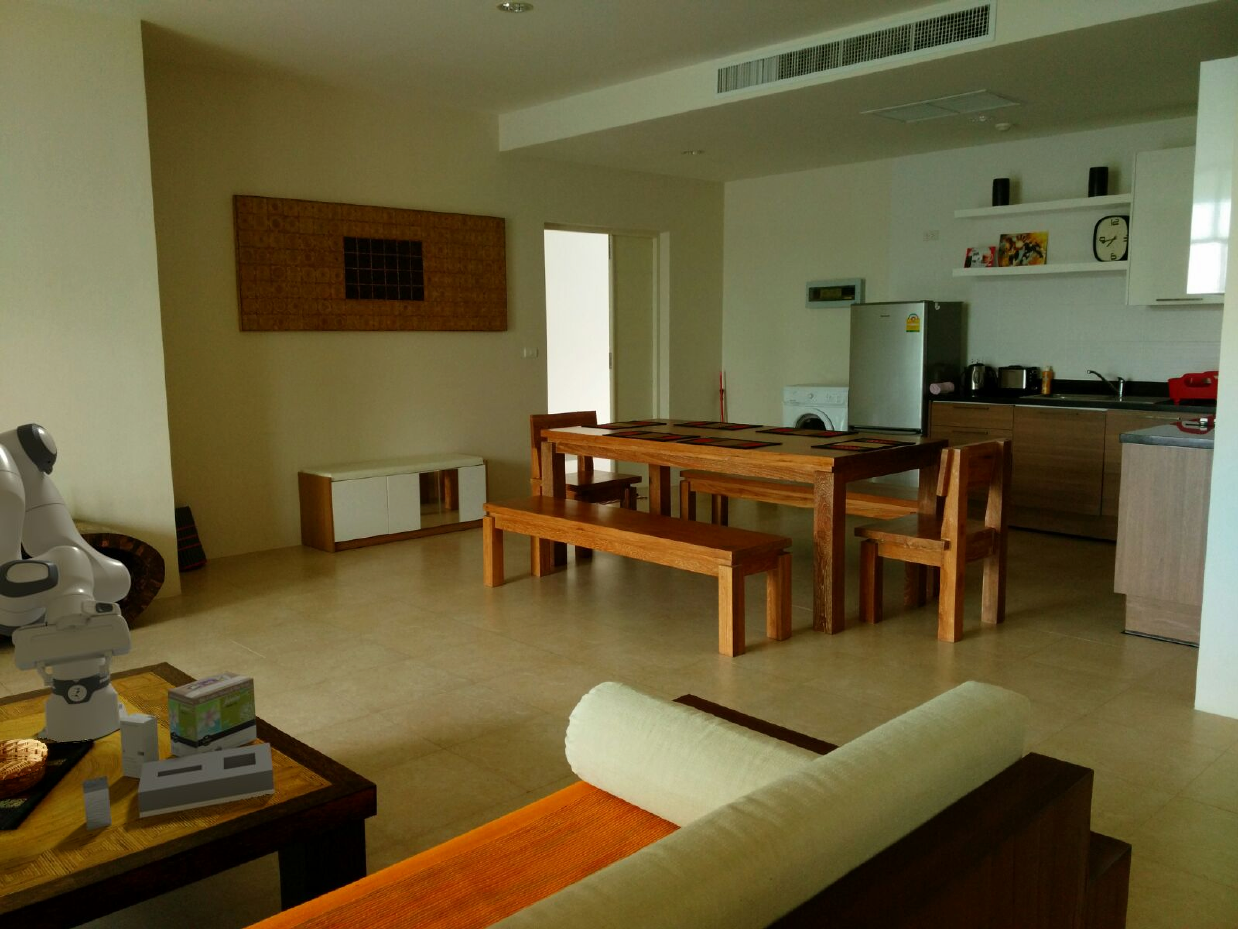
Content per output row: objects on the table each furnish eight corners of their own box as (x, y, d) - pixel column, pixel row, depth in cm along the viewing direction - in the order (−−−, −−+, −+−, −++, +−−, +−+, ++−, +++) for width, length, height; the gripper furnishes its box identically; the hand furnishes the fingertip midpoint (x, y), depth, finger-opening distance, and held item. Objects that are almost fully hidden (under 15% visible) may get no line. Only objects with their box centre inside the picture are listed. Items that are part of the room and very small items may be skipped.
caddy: (145, 786, 198) (143, 763, 197) (271, 765, 207) (269, 742, 206) (139, 817, 185) (137, 792, 185) (274, 793, 194) (272, 769, 193)
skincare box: (122, 776, 203) (116, 720, 201) (138, 767, 207) (133, 712, 206) (146, 780, 201) (141, 723, 200) (162, 770, 205) (157, 715, 204)
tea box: (199, 765, 208) (193, 698, 206) (170, 755, 213) (164, 689, 211) (258, 739, 220) (254, 676, 218) (230, 730, 226) (225, 668, 224)
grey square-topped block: (86, 821, 184) (82, 781, 183) (110, 815, 186) (106, 775, 185) (87, 830, 181) (83, 789, 180) (112, 824, 183) (108, 784, 182)
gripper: (9, 619, 190) (12, 682, 183) (127, 602, 200) (133, 662, 193) (13, 635, 195) (16, 698, 188) (128, 618, 204) (134, 677, 197)
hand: (76, 679), depth 190 cm, fingers open, 8 cm apart
